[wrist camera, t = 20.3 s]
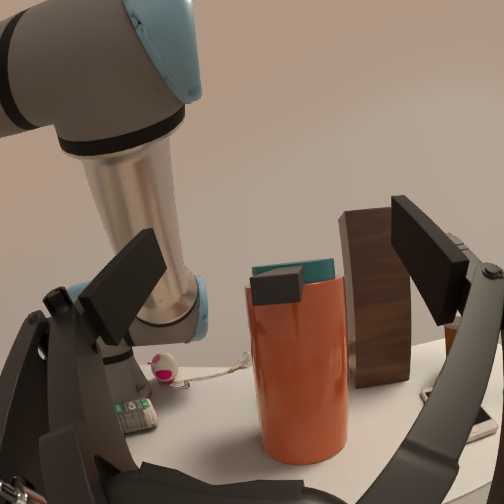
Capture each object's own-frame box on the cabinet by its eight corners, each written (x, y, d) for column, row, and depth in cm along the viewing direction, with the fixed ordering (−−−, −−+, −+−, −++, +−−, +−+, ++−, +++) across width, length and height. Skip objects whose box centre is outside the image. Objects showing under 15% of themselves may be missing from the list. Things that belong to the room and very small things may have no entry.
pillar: (409, 379, 40) (401, 205, 41) (355, 389, 42) (344, 211, 43) (394, 361, 50) (386, 214, 51) (349, 368, 52) (338, 219, 53)
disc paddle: (261, 281, 36) (259, 265, 36) (331, 274, 34) (330, 258, 34) (194, 314, 15) (189, 277, 15) (365, 300, 13) (362, 260, 13)
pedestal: (244, 443, 30) (224, 288, 31) (300, 411, 38) (290, 277, 38) (310, 476, 22) (300, 287, 23) (362, 429, 29) (361, 272, 30)
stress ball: (138, 378, 47) (171, 383, 47) (145, 344, 53) (176, 347, 54) (148, 392, 52) (177, 396, 52) (153, 361, 58) (181, 364, 58)
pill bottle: (153, 401, 34) (98, 412, 29) (161, 429, 33) (108, 441, 28) (145, 394, 38) (96, 404, 33) (153, 420, 37) (105, 430, 32)
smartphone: (450, 448, 19) (452, 442, 19) (420, 393, 34) (420, 388, 34) (497, 431, 17) (499, 424, 17) (457, 384, 32) (458, 379, 32)
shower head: (163, 371, 51) (237, 348, 65) (166, 386, 51) (239, 361, 65) (175, 378, 47) (253, 351, 61) (178, 394, 47) (255, 365, 61)
